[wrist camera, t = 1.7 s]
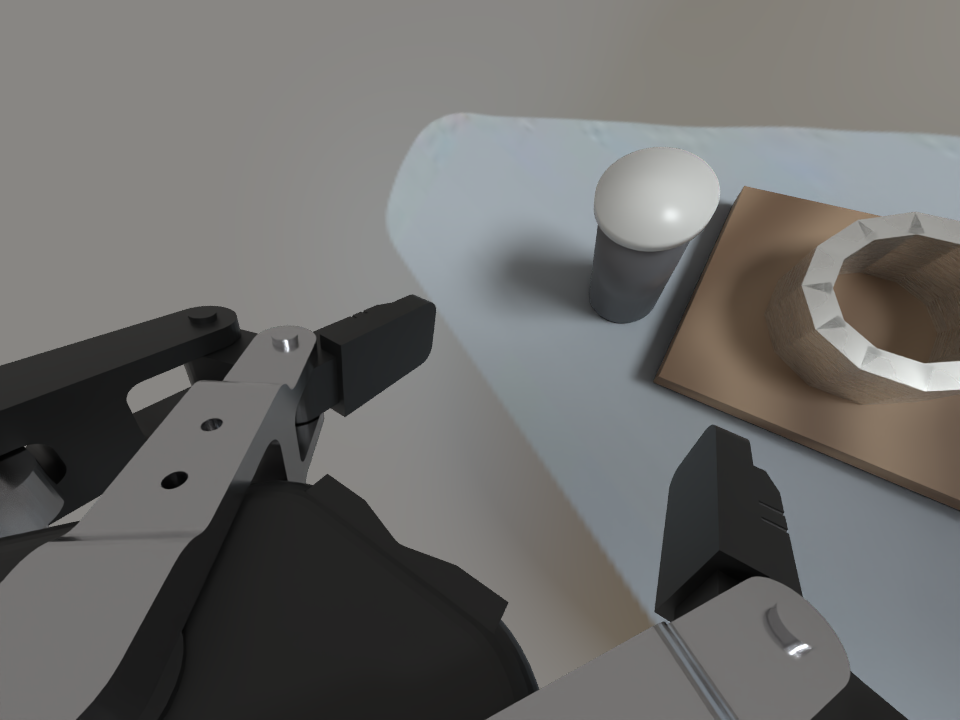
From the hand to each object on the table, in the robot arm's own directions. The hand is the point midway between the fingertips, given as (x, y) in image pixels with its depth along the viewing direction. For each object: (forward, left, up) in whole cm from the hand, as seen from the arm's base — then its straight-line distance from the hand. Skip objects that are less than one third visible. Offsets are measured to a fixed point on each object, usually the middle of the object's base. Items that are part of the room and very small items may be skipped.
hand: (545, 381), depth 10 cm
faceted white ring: (-12, -12, -12) cm, 21 cm away
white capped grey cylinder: (0, -10, -14) cm, 17 cm away
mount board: (-12, -12, -14) cm, 22 cm away
